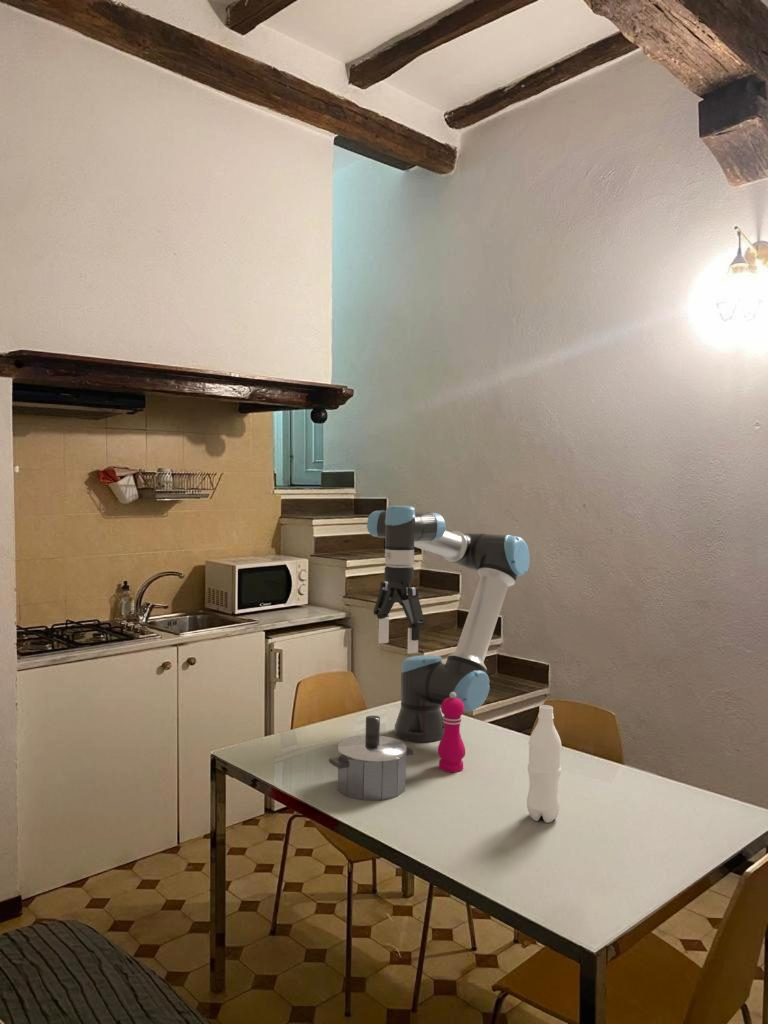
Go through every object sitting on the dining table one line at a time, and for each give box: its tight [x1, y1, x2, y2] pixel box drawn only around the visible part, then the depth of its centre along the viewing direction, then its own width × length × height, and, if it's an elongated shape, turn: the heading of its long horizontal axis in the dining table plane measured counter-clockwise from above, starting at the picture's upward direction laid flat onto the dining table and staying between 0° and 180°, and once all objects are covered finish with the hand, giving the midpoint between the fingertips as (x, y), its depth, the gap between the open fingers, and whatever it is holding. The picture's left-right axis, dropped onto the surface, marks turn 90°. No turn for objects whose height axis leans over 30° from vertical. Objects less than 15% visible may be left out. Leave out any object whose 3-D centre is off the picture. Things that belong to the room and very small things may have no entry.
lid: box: [337, 715, 407, 762], centre depth 192 cm, size 17×17×10 cm
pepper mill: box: [437, 692, 466, 773], centre depth 206 cm, size 7×7×20 cm
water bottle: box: [526, 704, 562, 824], centre depth 176 cm, size 7×7×25 cm
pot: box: [328, 746, 415, 801], centre depth 192 cm, size 21×16×9 cm
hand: (397, 647), depth 204 cm, fingers open, 13 cm apart
